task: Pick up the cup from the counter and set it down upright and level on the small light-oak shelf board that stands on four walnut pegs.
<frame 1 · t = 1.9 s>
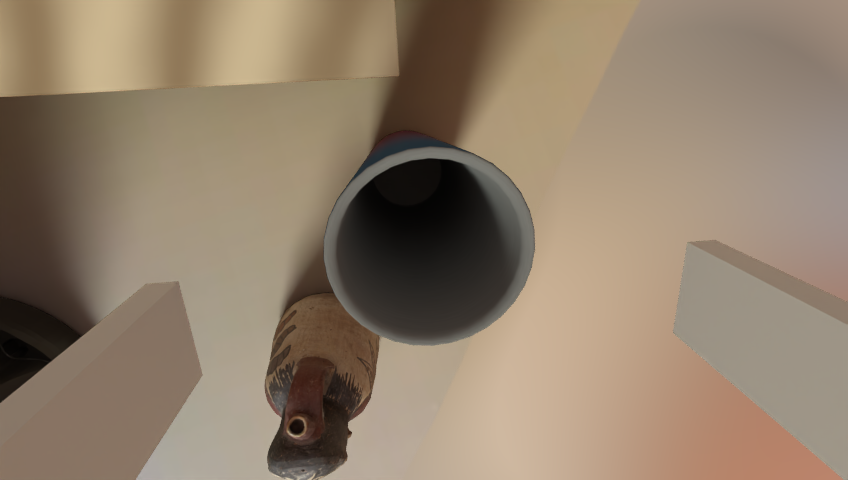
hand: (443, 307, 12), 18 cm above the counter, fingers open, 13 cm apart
cup: (406, 170, 28), on the counter
figurine: (329, 333, 32), on the counter
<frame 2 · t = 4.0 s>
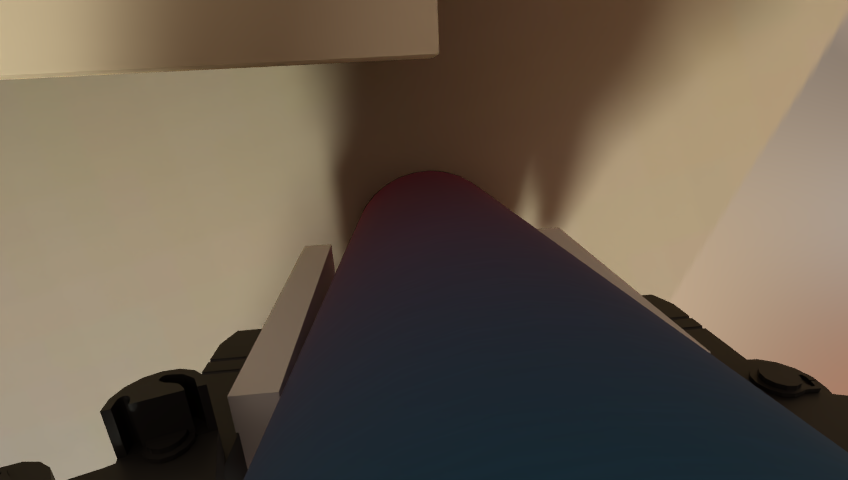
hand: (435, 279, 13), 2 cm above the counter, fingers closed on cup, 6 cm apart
cup: (429, 241, 15), on the counter, touching gripper
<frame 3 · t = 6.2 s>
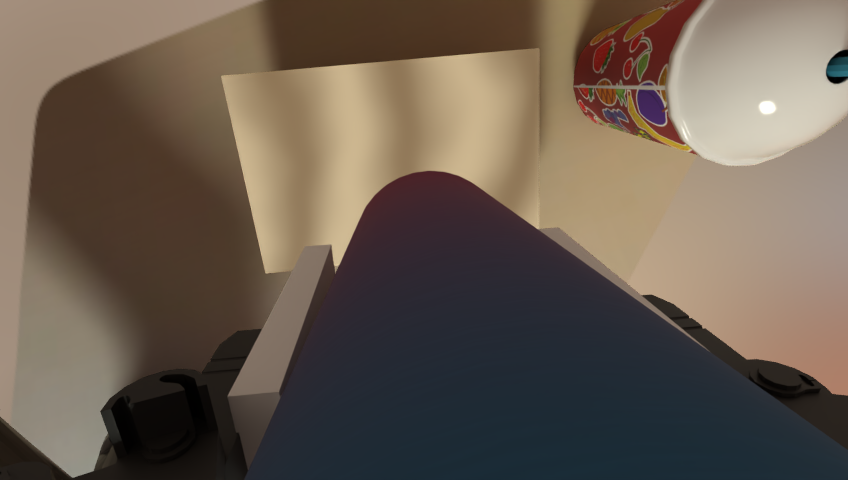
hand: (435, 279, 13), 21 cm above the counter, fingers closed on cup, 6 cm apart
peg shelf: (393, 153, 33), on the counter
cup: (429, 241, 15), point 19 cm above the counter, touching gripper
smoothie: (609, 77, 32), on the counter
when the fingers open (10 cm above the counter, at t = 8.7 s): cup drops 1 cm, resting on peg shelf.
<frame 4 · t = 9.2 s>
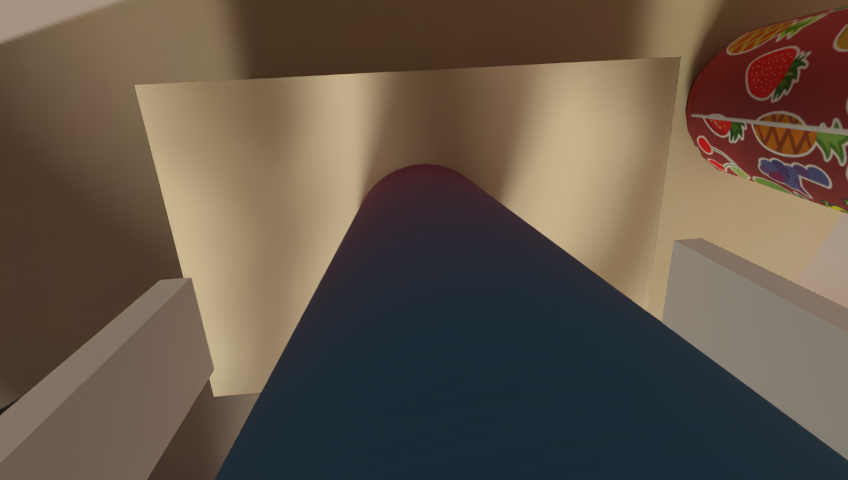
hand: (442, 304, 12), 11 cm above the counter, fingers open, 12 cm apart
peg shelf: (416, 201, 22), on the counter
cup: (423, 229, 16), point 6 cm above the counter, touching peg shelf
smoothie: (736, 102, 22), on the counter
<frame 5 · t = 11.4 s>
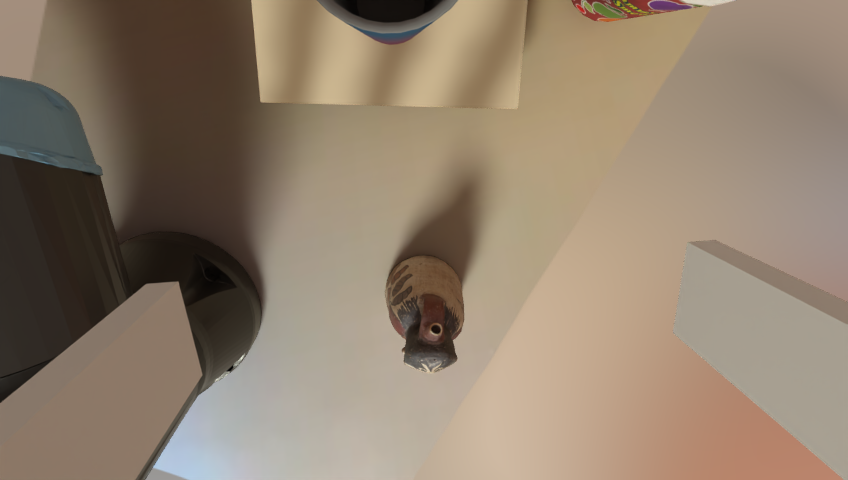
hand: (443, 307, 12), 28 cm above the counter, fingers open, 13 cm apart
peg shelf: (392, 23, 35), on the counter
cup: (390, 3, 29), point 6 cm above the counter, touching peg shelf
figurine: (422, 286, 43), on the counter
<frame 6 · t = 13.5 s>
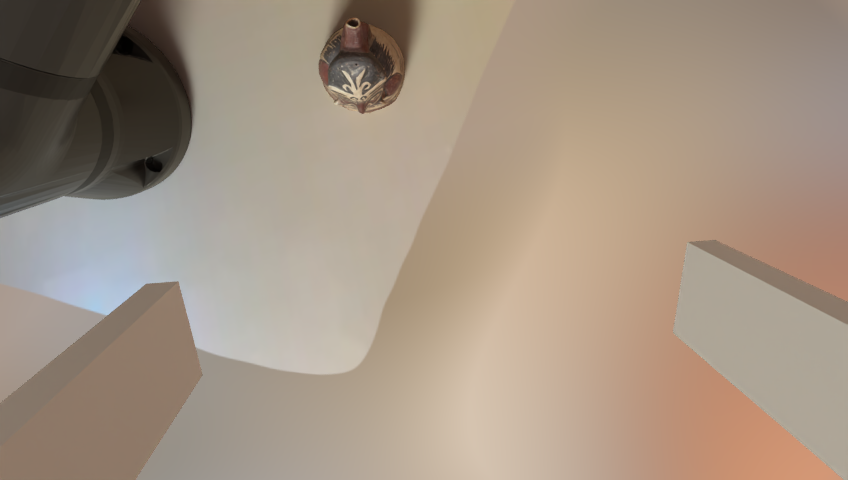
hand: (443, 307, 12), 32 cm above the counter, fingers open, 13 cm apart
figurine: (363, 71, 39), on the counter
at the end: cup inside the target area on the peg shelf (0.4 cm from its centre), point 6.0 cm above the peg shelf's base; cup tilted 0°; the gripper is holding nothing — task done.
